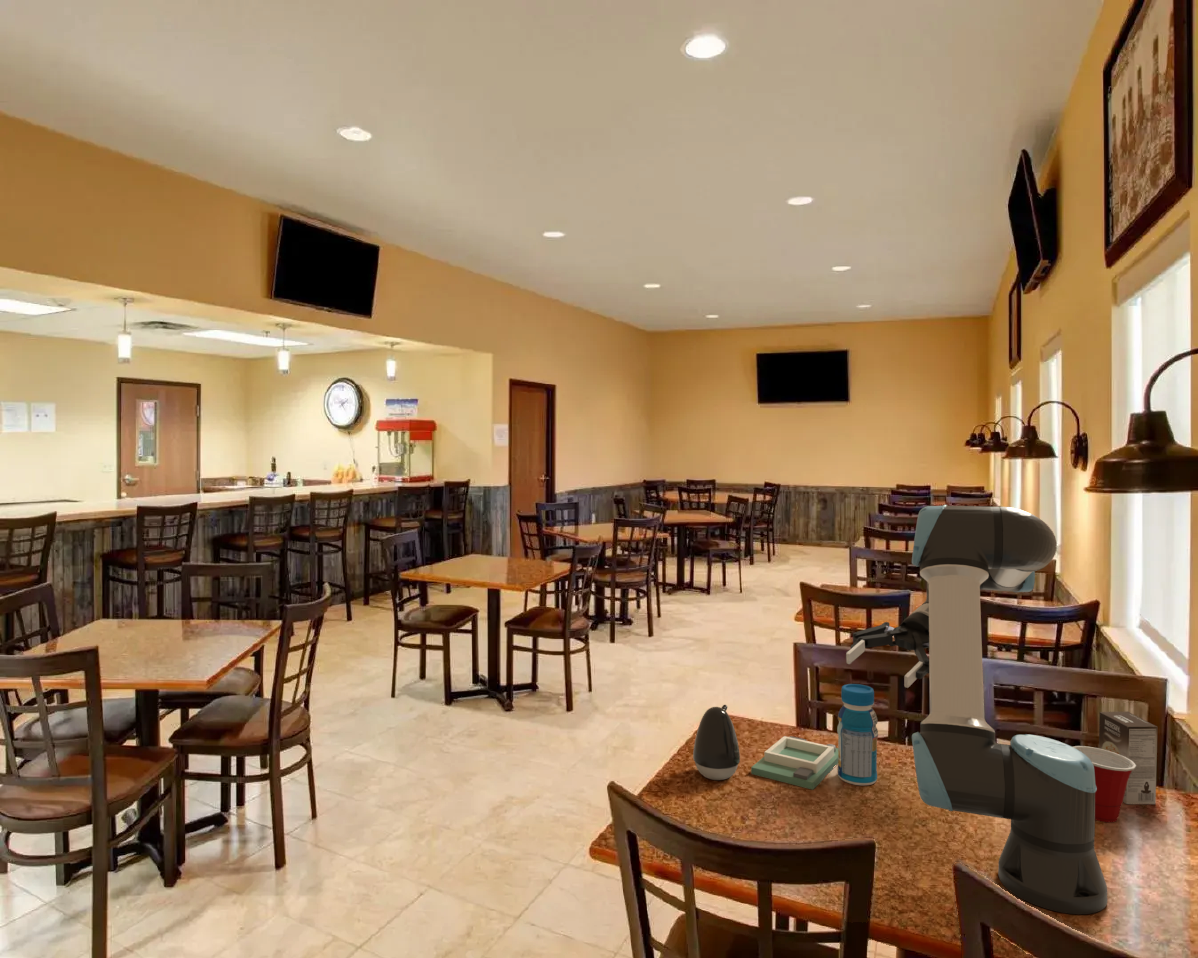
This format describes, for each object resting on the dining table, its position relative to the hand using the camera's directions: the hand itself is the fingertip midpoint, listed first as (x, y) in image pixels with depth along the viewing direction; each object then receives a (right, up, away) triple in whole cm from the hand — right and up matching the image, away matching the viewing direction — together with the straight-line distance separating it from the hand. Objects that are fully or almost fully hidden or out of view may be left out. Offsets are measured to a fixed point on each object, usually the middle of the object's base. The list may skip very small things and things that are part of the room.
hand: (875, 670), depth 161 cm
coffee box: (+49, -24, -7) cm, 56 cm away
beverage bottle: (-4, -24, +1) cm, 25 cm away
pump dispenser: (-34, -24, +3) cm, 42 cm away
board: (-14, -24, +9) cm, 29 cm away
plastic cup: (+38, -24, -16) cm, 48 cm away
